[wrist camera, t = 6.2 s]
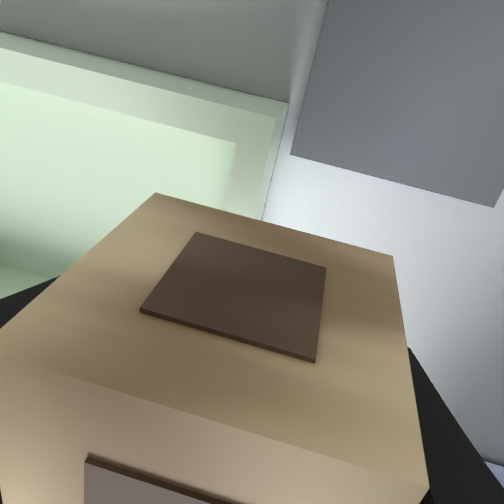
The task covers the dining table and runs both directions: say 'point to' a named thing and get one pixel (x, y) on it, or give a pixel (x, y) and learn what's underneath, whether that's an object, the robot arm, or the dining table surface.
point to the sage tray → (115, 151)
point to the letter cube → (211, 371)
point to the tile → (410, 94)
